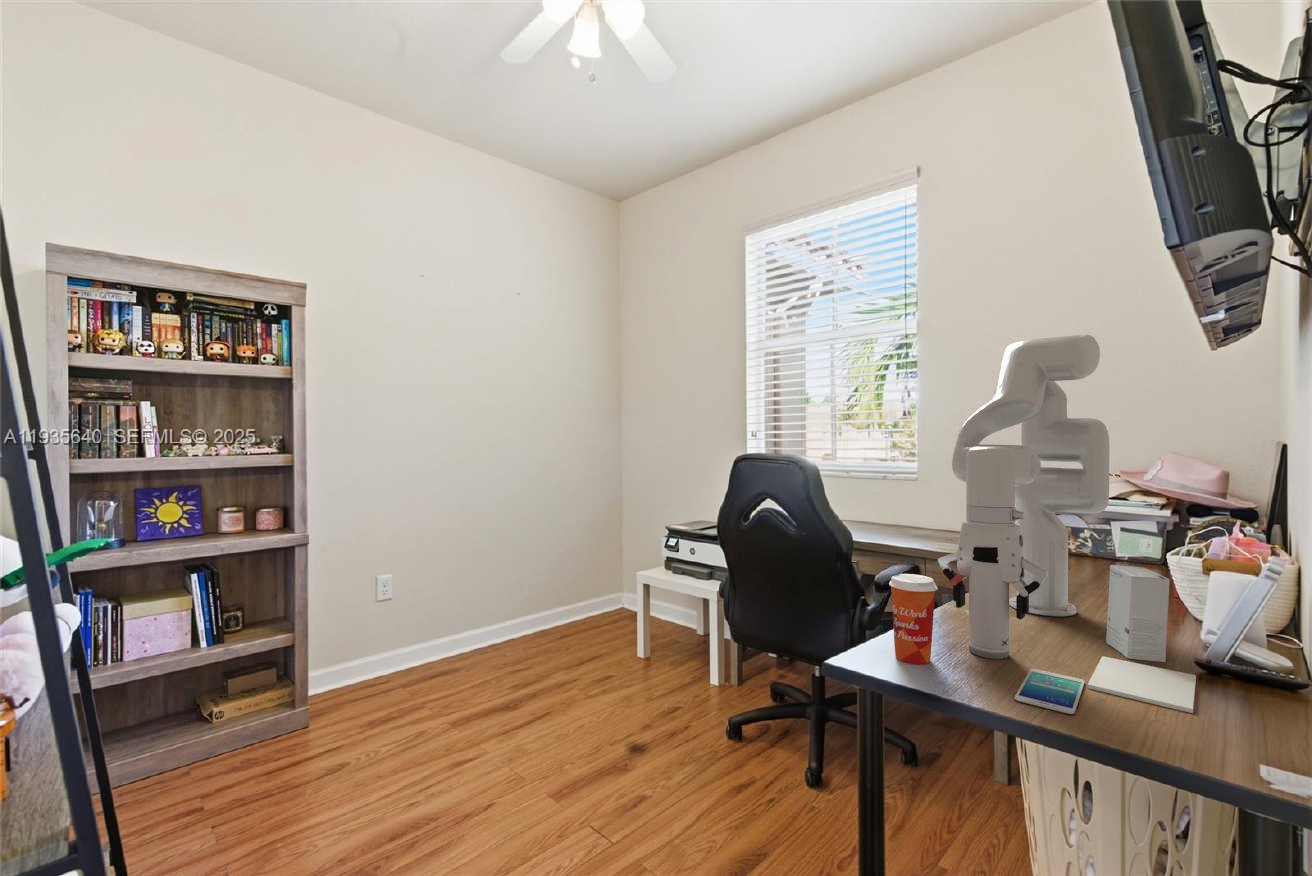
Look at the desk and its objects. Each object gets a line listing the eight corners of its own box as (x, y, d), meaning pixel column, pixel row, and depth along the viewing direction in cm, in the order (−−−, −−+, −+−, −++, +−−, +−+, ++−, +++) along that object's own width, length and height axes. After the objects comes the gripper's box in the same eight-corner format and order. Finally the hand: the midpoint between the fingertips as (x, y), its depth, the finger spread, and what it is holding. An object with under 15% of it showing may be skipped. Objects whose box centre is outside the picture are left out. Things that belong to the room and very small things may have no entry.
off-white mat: (1102, 659, 103) (1102, 656, 103) (1195, 679, 95) (1195, 675, 95) (1087, 688, 91) (1087, 684, 91) (1192, 713, 83) (1193, 709, 83)
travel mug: (1017, 661, 102) (1017, 545, 102) (975, 658, 103) (975, 543, 103) (1003, 648, 108) (1003, 538, 108) (964, 645, 110) (964, 537, 109)
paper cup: (880, 657, 104) (880, 577, 104) (902, 647, 109) (902, 571, 109) (924, 671, 98) (924, 586, 98) (945, 659, 103) (945, 579, 103)
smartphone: (1086, 679, 93) (1075, 713, 82) (1086, 685, 93) (1074, 719, 82) (1030, 667, 98) (1012, 698, 87) (1030, 672, 98) (1012, 703, 87)
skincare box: (1105, 643, 111) (1105, 564, 111) (1143, 646, 109) (1143, 565, 109) (1129, 660, 102) (1129, 574, 102) (1170, 663, 101) (1170, 576, 101)
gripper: (1051, 518, 102) (1051, 617, 103) (945, 509, 114) (945, 598, 114) (1042, 522, 97) (1042, 627, 97) (931, 513, 109) (931, 606, 109)
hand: (989, 611), depth 106 cm, fingers open, 9 cm apart
